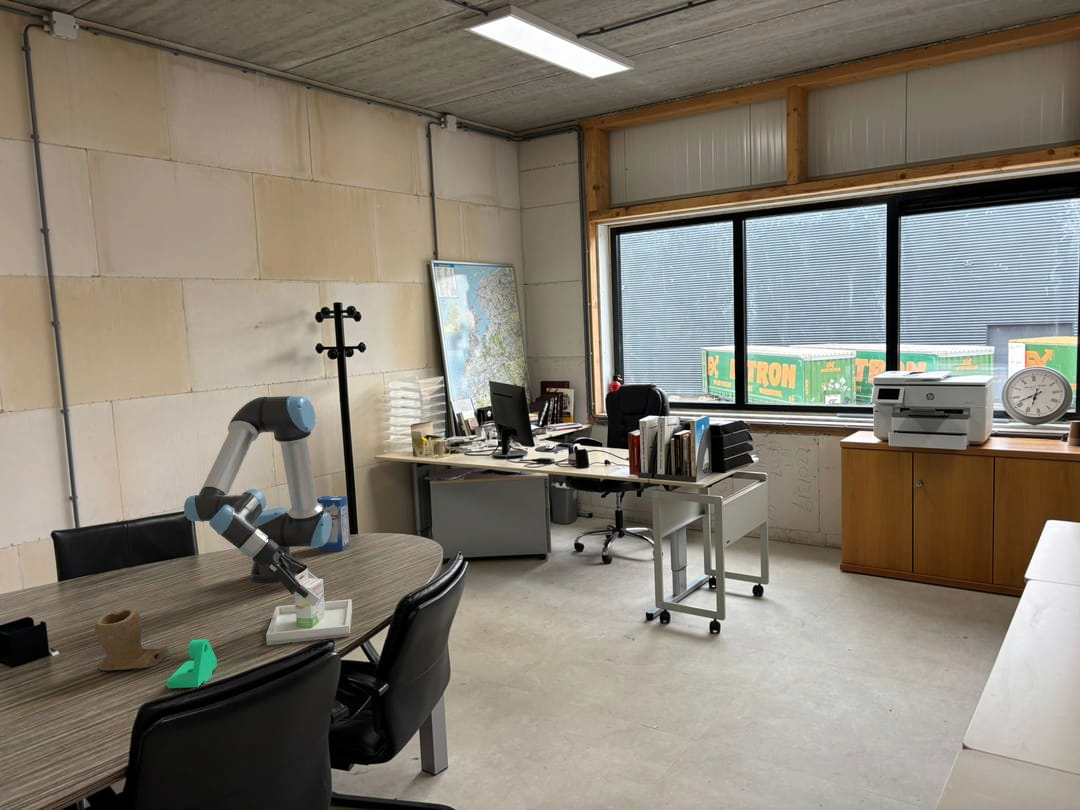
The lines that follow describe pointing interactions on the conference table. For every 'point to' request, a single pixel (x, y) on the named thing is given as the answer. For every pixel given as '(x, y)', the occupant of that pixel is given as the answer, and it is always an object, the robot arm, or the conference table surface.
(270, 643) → the tray
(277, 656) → the conference table surface
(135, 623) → the stone cup
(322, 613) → the ink box
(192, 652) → the camera mount
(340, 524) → the milk carton
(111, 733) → the conference table surface
